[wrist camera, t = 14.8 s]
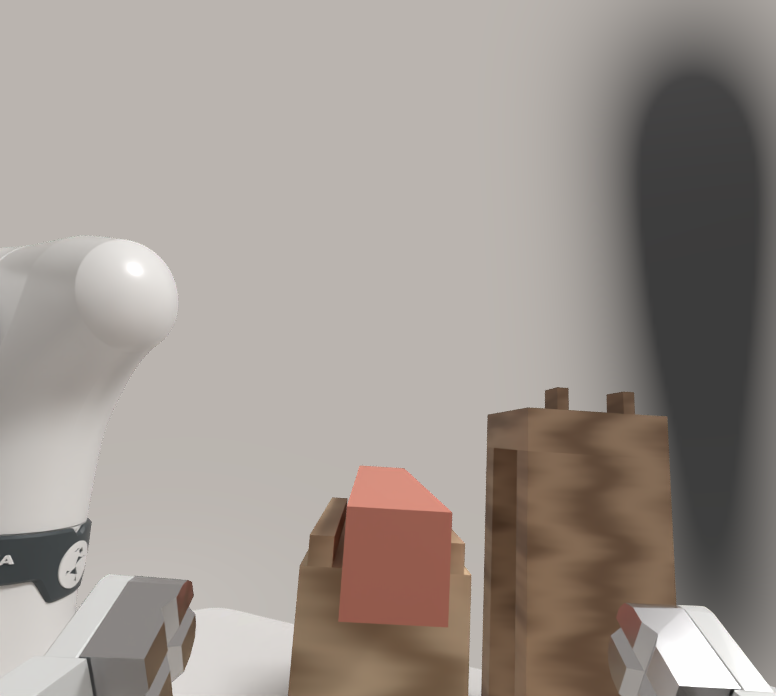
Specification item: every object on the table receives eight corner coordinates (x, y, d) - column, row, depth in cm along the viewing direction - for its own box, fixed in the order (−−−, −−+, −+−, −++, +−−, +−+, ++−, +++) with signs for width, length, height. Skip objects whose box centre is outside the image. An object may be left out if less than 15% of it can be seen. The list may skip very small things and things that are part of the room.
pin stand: (525, 840, 28) (528, 384, 34) (480, 725, 40) (488, 397, 45) (687, 847, 29) (666, 394, 34) (597, 731, 40) (591, 404, 45)
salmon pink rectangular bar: (448, 627, 14) (452, 512, 14) (338, 621, 14) (347, 506, 14) (401, 514, 33) (404, 468, 34) (356, 512, 33) (359, 465, 34)
